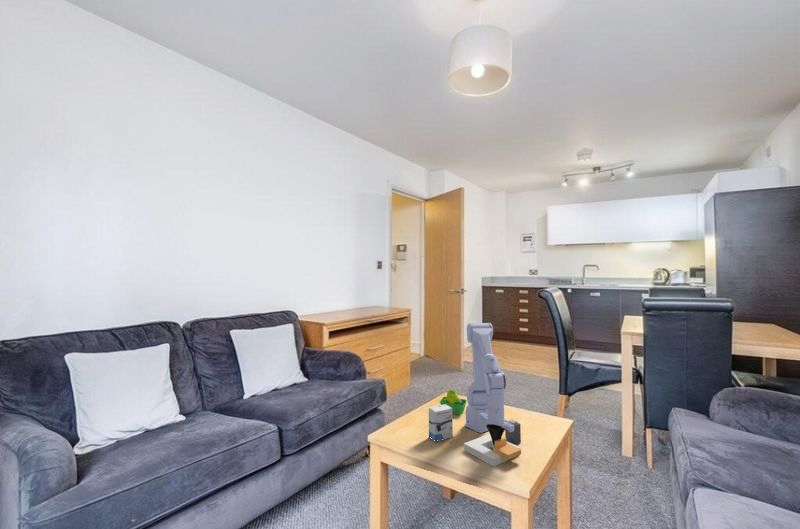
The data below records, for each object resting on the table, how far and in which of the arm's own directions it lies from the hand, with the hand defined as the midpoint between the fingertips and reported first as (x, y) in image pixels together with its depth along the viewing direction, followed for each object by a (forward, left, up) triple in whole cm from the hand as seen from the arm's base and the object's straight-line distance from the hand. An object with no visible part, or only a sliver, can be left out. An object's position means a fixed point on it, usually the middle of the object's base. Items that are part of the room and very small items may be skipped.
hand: (496, 445), depth 133 cm
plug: (-3, +13, -3) cm, 14 cm away
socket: (-2, 0, -3) cm, 4 cm away
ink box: (-22, -7, -4) cm, 24 cm away
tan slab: (+5, 0, -1) cm, 5 cm away
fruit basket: (-39, +15, -4) cm, 42 cm away
